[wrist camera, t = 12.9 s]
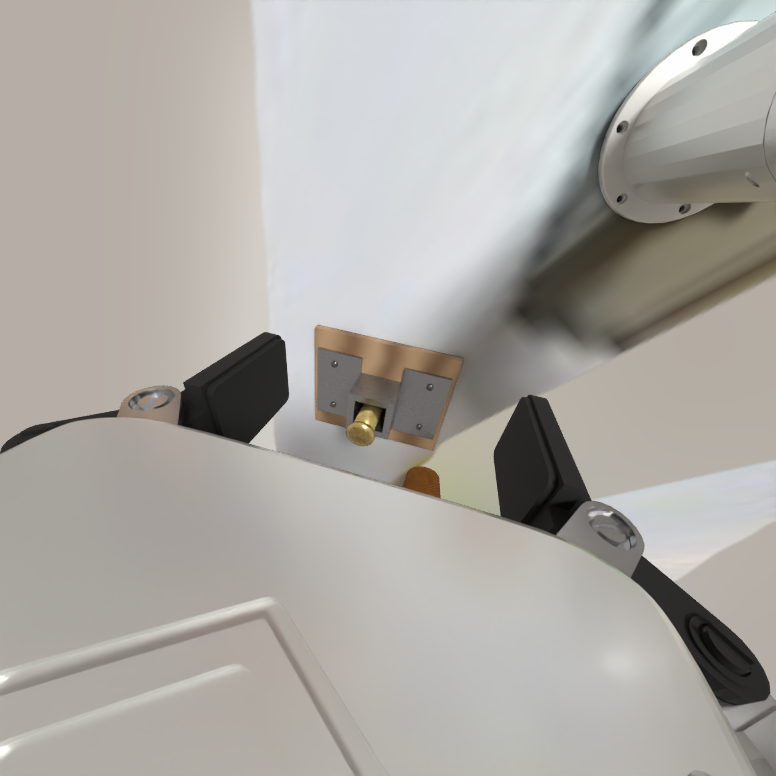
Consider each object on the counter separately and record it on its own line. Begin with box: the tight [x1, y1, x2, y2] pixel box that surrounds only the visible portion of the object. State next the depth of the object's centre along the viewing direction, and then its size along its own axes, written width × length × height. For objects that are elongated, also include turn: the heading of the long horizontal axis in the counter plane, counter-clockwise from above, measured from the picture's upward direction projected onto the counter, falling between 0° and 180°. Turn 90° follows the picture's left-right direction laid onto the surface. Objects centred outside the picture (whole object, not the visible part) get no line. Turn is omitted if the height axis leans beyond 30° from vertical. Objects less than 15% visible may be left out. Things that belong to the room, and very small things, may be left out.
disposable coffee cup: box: [403, 467, 440, 498], centre depth 50 cm, size 10×10×12 cm
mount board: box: [315, 325, 463, 450], centre depth 45 cm, size 22×18×1 cm
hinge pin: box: [346, 403, 383, 446], centre depth 41 cm, size 4×4×10 cm
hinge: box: [318, 347, 452, 440], centre depth 43 cm, size 21×12×6 cm, turn 81°
